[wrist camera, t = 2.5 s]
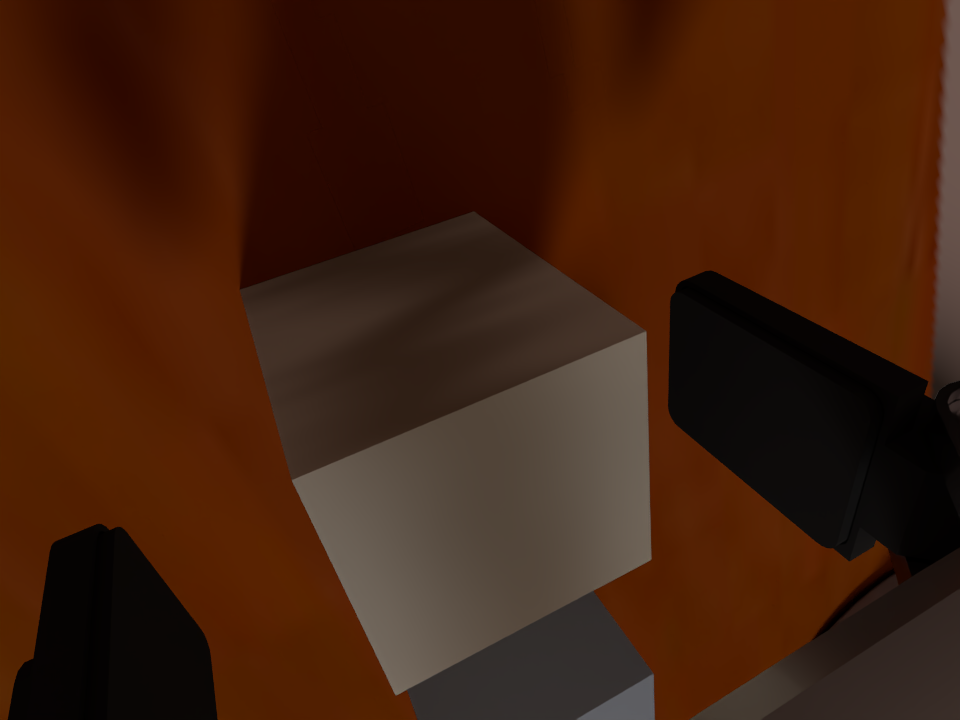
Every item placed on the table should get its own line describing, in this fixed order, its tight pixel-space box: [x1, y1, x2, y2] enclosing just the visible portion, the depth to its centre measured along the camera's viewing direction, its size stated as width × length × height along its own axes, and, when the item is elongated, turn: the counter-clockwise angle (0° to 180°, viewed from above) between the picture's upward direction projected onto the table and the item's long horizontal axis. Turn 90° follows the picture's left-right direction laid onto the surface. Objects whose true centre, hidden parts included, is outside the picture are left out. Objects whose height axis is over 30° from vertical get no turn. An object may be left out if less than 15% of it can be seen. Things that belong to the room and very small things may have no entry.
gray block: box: [407, 591, 655, 720], centre depth 17 cm, size 5×5×6 cm
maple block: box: [240, 212, 651, 695], centre depth 12 cm, size 5×5×6 cm
